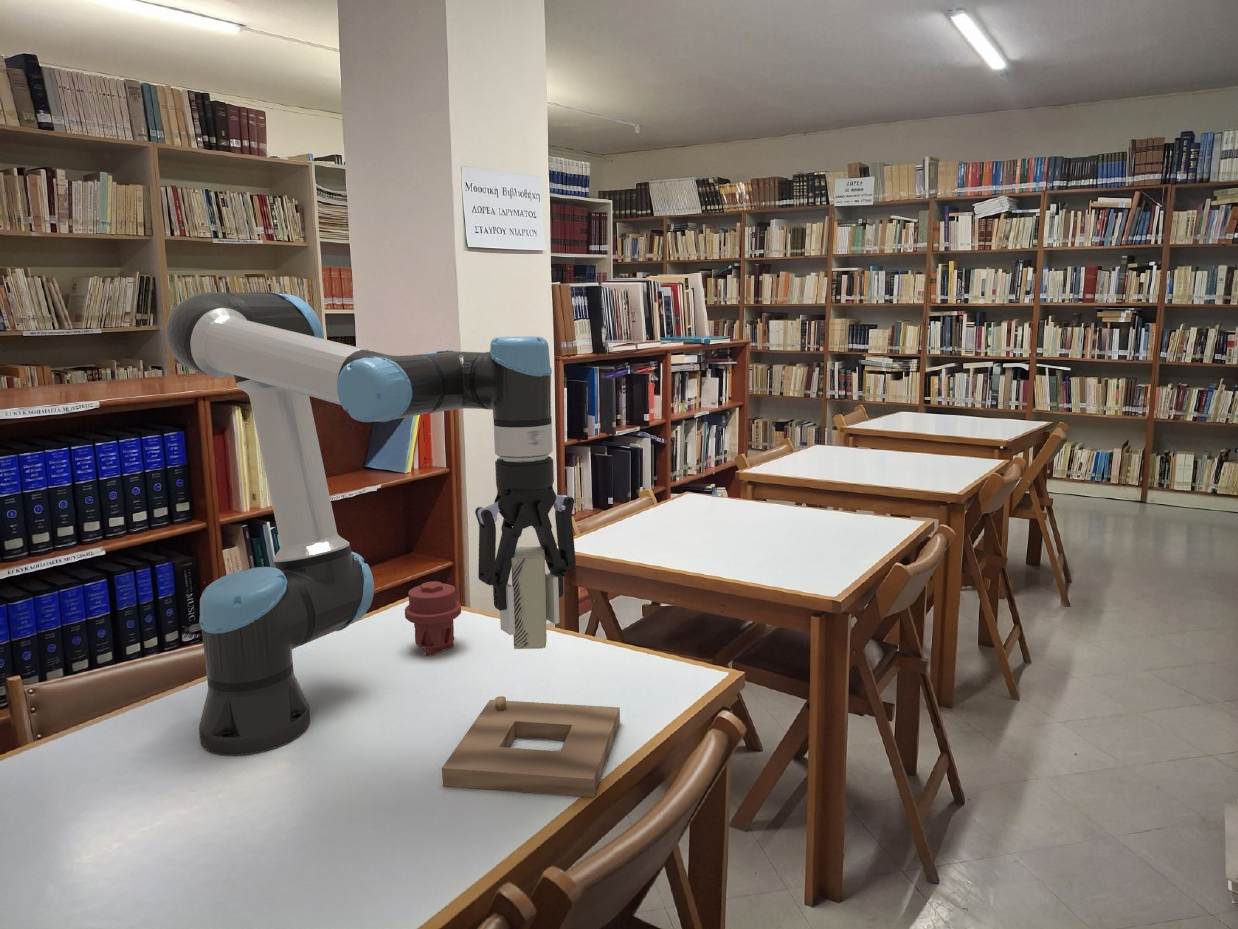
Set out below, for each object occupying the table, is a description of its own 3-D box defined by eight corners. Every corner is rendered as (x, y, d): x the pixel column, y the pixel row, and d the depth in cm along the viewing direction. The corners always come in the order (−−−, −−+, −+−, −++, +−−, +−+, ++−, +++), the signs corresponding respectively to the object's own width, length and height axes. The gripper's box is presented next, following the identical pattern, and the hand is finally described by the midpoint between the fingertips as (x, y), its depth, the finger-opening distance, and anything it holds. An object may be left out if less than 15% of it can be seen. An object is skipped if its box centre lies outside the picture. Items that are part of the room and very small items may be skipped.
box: (515, 636, 118) (512, 546, 116) (547, 635, 118) (544, 545, 116) (513, 651, 113) (509, 556, 111) (546, 650, 113) (543, 555, 111)
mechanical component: (471, 640, 161) (450, 661, 151) (421, 637, 163) (397, 658, 153) (468, 577, 159) (446, 594, 149) (417, 575, 161) (393, 592, 151)
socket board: (593, 797, 108) (593, 768, 107) (442, 785, 111) (441, 757, 111) (620, 723, 127) (619, 698, 127) (490, 715, 131) (489, 690, 130)
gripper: (468, 469, 103) (477, 651, 107) (601, 452, 113) (604, 618, 117) (443, 460, 109) (453, 633, 113) (571, 445, 119) (575, 604, 124)
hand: (530, 625), depth 115 cm, fingers closed on box, 6 cm apart
